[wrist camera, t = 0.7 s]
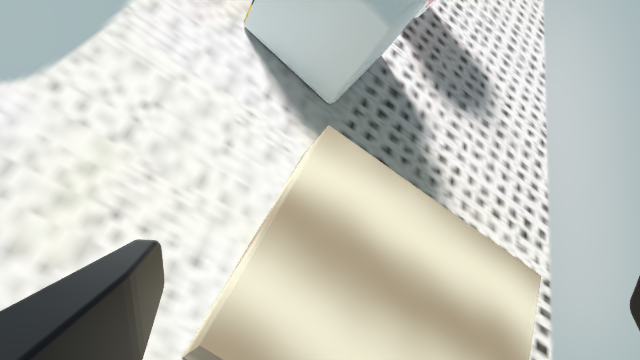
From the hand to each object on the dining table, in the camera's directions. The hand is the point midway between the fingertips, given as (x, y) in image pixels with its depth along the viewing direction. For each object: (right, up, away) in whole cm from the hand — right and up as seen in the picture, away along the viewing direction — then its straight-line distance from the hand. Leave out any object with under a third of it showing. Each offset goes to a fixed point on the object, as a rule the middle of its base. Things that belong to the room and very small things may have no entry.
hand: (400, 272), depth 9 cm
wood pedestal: (+1, -5, +15) cm, 16 cm away
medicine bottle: (-2, +10, +22) cm, 24 cm away
